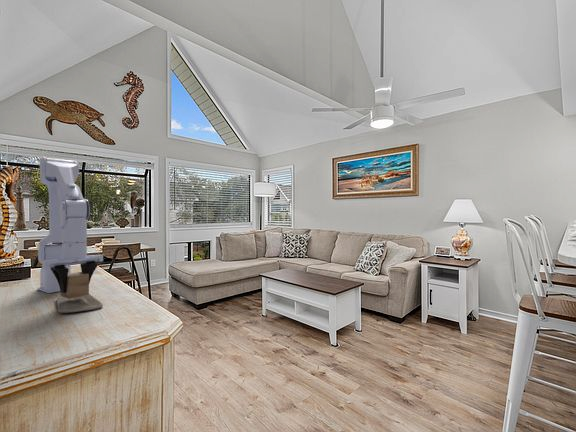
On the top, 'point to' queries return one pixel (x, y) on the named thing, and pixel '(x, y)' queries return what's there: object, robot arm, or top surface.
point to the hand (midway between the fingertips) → (74, 289)
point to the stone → (77, 304)
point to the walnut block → (77, 285)
